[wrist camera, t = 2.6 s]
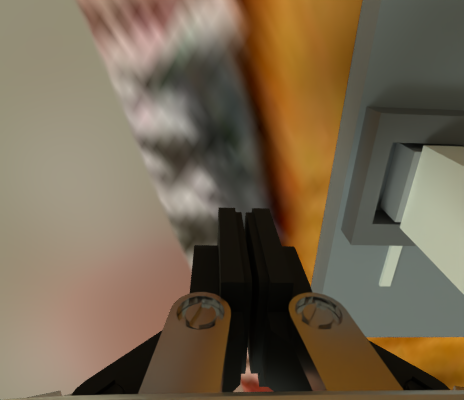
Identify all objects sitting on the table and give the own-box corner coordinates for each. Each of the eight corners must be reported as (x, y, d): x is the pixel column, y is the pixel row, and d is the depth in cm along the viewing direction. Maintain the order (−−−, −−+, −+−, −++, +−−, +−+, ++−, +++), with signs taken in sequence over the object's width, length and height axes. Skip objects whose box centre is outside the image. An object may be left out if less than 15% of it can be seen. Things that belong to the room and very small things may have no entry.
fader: (398, 135, 16) (507, 194, 10) (460, 137, 16) (604, 196, 10) (378, 211, 18) (461, 301, 12) (435, 212, 18) (545, 301, 12)
